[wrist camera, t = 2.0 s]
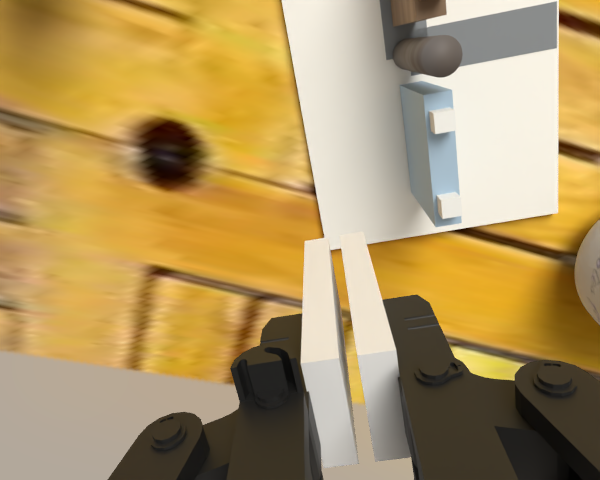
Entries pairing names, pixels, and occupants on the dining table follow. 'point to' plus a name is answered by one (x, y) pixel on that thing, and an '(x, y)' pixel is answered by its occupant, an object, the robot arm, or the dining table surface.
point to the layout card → (389, 118)
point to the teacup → (589, 272)
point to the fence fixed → (424, 40)
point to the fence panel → (432, 150)
